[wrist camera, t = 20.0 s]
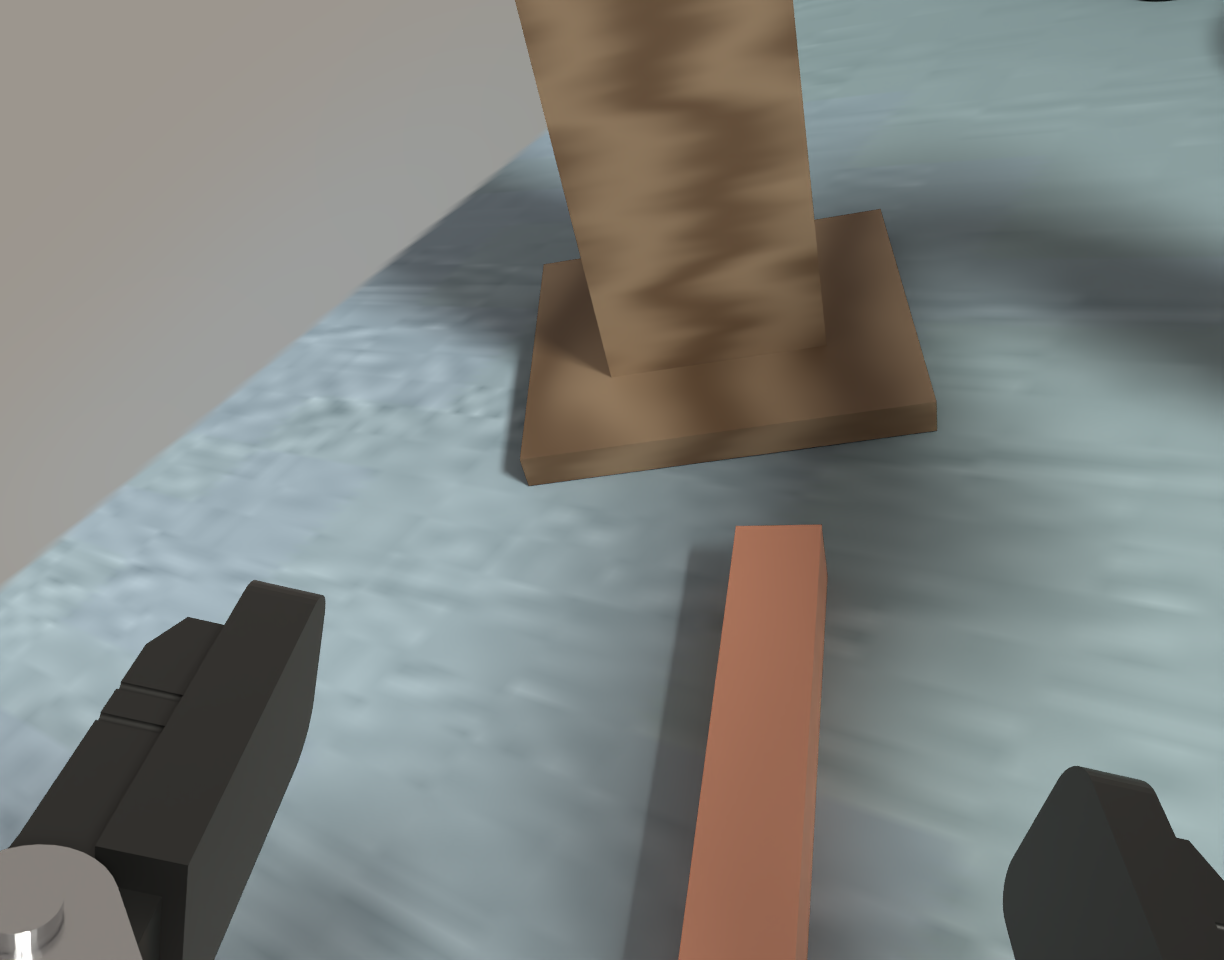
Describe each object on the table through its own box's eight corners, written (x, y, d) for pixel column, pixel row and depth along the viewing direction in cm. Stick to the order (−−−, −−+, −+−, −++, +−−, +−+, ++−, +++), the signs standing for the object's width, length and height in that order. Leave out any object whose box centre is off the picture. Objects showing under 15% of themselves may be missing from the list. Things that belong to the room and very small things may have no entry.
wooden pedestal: (881, 235, 62) (835, -605, 40) (937, 430, 50) (914, -612, 28) (550, 289, 64) (337, -471, 43) (528, 485, 53) (218, -425, 31)
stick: (828, 582, 45) (821, 524, 43) (784, 1421, 27) (769, 1392, 25) (746, 582, 46) (736, 526, 44) (649, 1397, 28) (623, 1367, 26)
